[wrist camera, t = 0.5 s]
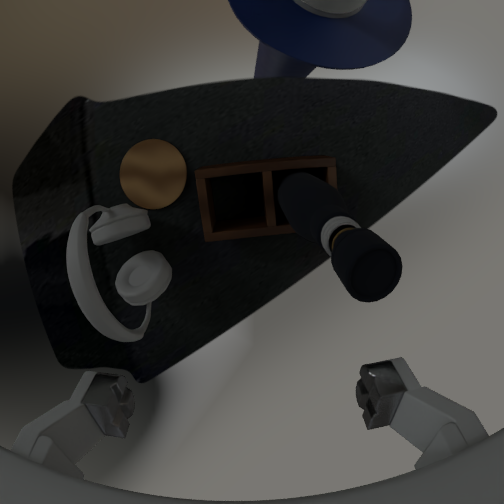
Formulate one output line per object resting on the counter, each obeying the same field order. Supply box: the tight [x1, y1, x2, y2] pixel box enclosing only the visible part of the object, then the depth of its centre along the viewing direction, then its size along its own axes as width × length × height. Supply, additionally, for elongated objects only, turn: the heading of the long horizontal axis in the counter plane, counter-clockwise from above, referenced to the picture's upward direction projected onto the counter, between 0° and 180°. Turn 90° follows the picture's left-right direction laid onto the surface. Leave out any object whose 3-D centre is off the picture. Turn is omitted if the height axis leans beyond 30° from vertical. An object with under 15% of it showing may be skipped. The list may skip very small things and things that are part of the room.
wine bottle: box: [274, 169, 402, 302], centre depth 30 cm, size 6×6×30 cm
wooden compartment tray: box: [195, 155, 337, 242], centre depth 42 cm, size 10×19×6 cm, turn 96°
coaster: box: [120, 139, 187, 209], centre depth 43 cm, size 11×11×1 cm
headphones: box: [67, 204, 172, 342], centre depth 38 cm, size 19×9×20 cm, turn 17°
